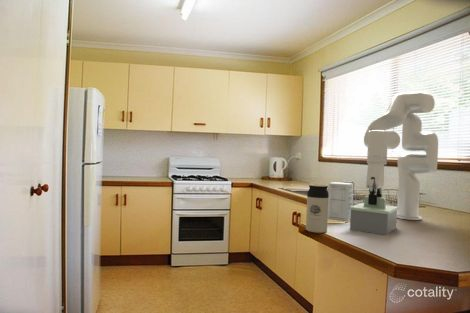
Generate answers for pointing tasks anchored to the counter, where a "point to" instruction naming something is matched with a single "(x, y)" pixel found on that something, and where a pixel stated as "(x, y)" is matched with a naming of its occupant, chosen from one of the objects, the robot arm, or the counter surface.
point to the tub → (373, 222)
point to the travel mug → (317, 208)
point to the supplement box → (340, 201)
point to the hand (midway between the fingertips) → (374, 203)
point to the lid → (375, 206)
